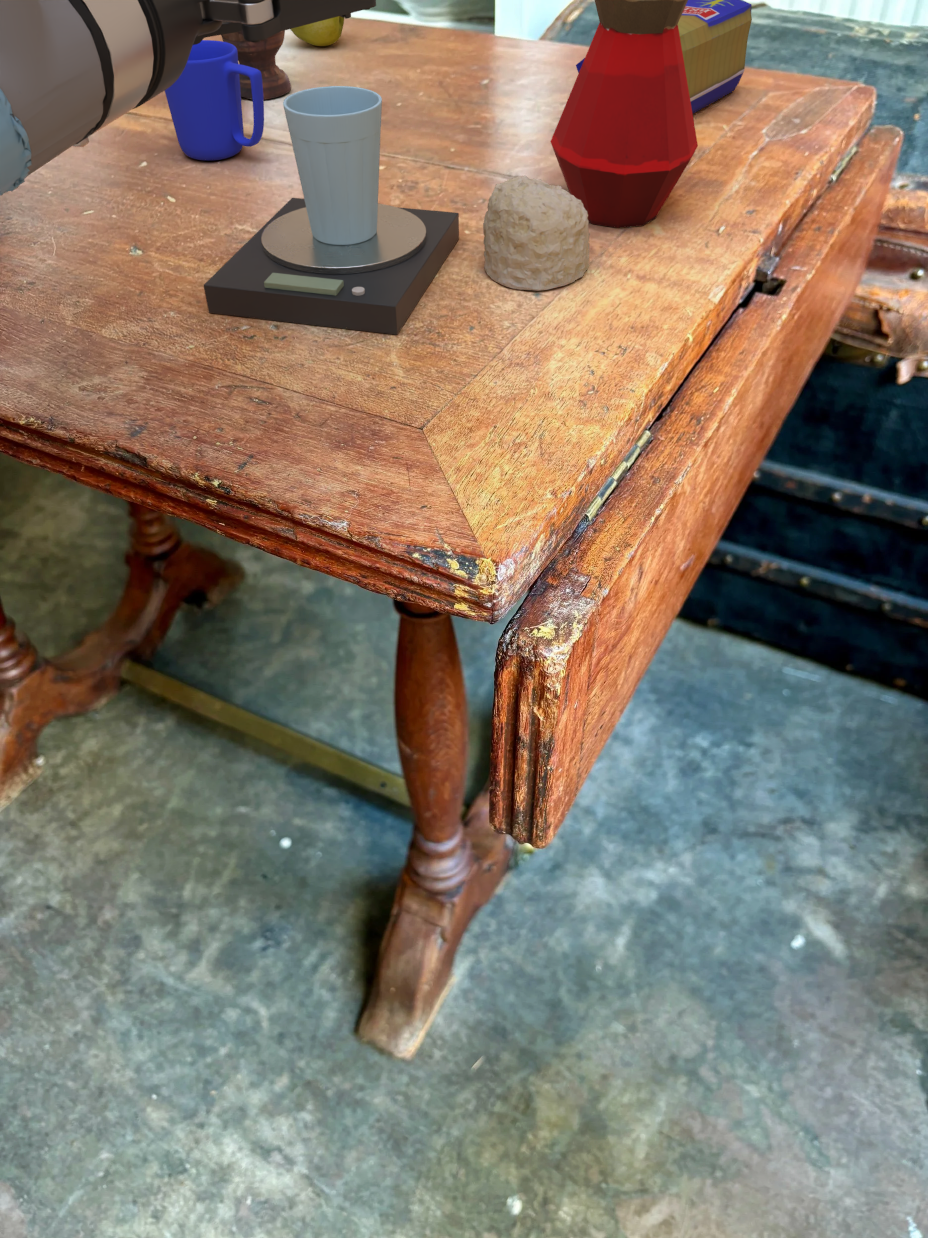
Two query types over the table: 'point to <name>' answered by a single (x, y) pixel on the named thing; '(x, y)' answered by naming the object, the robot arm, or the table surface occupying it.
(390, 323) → the scale
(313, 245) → the scale platform
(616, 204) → the red faceted vase
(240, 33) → the mortar and pestle
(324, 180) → the cup
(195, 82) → the mug
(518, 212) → the rock
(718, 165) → the table surface
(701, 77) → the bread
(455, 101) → the table surface
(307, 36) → the apple
